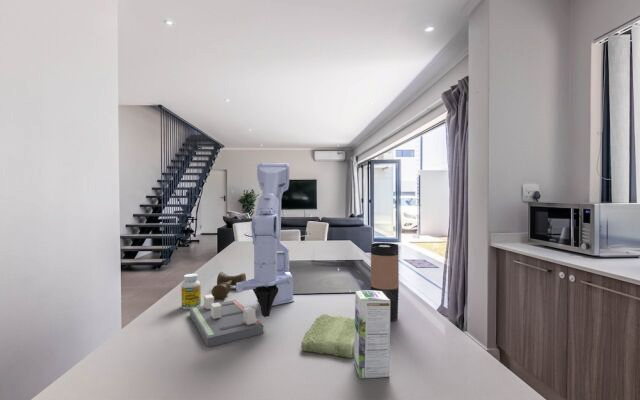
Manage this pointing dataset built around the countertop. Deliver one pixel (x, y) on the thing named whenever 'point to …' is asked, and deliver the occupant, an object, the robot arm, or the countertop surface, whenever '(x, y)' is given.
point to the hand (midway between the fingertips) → (265, 315)
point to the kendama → (225, 284)
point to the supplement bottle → (191, 291)
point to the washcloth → (331, 336)
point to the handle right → (208, 301)
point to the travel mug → (386, 273)
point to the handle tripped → (249, 315)
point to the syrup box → (372, 334)
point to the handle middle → (216, 310)
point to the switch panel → (224, 324)
